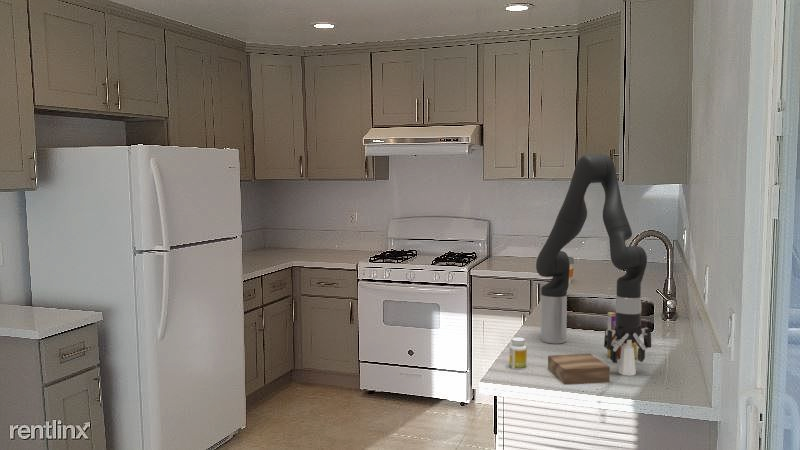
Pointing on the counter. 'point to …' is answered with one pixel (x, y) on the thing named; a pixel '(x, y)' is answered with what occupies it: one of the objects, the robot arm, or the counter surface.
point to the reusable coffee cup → (571, 268)
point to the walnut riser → (578, 369)
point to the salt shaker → (627, 360)
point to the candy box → (612, 327)
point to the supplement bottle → (518, 354)
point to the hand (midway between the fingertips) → (627, 361)
